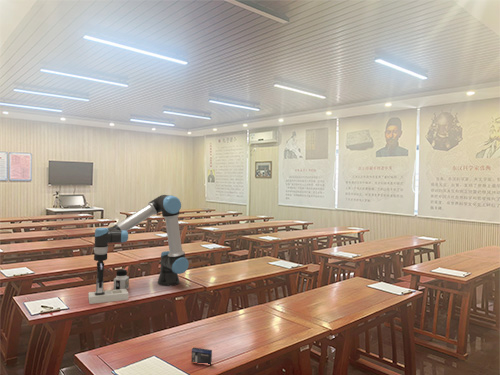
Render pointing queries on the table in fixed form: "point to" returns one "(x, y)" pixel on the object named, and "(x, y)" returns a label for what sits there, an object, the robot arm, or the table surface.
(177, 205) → the robot arm
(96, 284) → the pin
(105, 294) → the white slotted block
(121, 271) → the container
